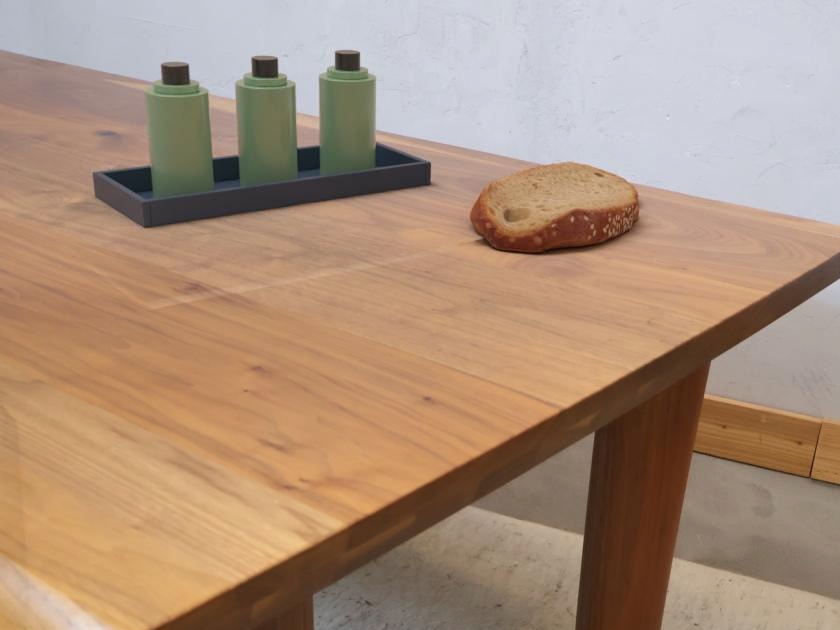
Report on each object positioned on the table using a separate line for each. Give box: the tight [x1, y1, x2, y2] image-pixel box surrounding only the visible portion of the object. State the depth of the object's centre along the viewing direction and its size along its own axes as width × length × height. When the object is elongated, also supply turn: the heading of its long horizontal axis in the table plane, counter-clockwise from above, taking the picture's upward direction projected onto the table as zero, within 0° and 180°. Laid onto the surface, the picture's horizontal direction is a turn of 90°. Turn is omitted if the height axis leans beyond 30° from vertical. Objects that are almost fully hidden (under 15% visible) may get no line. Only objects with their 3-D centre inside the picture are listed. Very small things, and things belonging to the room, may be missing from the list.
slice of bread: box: [469, 161, 640, 253], centre depth 97 cm, size 18×18×4 cm
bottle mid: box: [234, 55, 298, 187], centre depth 97 cm, size 5×5×11 cm
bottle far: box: [318, 49, 377, 176], centre depth 101 cm, size 5×5×11 cm
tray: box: [92, 141, 432, 229], centre depth 99 cm, size 27×10×3 cm, turn 126°
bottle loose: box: [143, 61, 214, 198], centre depth 93 cm, size 5×5×11 cm
